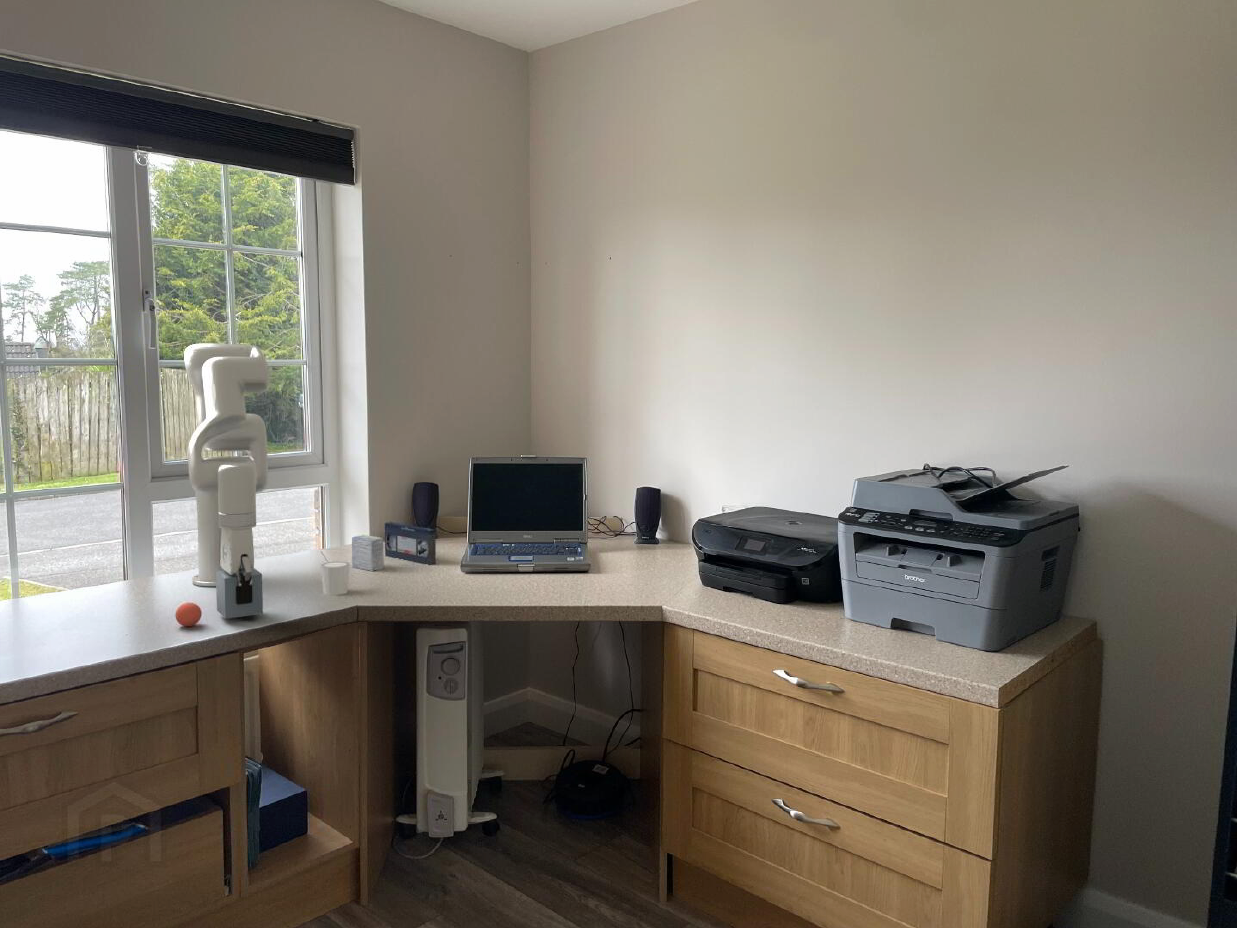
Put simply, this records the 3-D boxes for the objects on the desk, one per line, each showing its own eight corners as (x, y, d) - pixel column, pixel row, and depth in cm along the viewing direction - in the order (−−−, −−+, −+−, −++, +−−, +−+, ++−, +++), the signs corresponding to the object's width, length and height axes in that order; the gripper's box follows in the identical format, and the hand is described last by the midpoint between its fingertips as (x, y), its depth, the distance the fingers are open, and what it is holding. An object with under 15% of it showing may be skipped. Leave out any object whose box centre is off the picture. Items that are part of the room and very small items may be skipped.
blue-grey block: (216, 610, 198) (215, 571, 197) (253, 605, 203) (252, 566, 202) (225, 618, 192) (224, 578, 191) (262, 613, 197) (262, 573, 196)
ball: (188, 595, 193) (201, 612, 195) (167, 611, 190) (181, 628, 192) (195, 599, 189) (209, 617, 191) (174, 615, 187) (189, 633, 189)
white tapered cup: (341, 596, 217) (341, 568, 217) (315, 594, 219) (315, 566, 218) (355, 589, 224) (355, 562, 223) (329, 587, 225) (329, 560, 225)
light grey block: (384, 569, 247) (384, 537, 246) (371, 572, 243) (371, 540, 242) (364, 564, 251) (364, 534, 250) (351, 567, 247) (351, 536, 246)
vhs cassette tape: (384, 556, 262) (384, 522, 261) (392, 554, 265) (392, 521, 264) (428, 566, 252) (428, 531, 251) (436, 564, 254) (436, 529, 253)
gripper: (209, 515, 200) (211, 592, 202) (229, 528, 186) (231, 610, 188) (245, 512, 204) (246, 588, 206) (267, 525, 191) (268, 605, 193)
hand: (239, 598), depth 197 cm, fingers closed on blue-grey block, 7 cm apart
